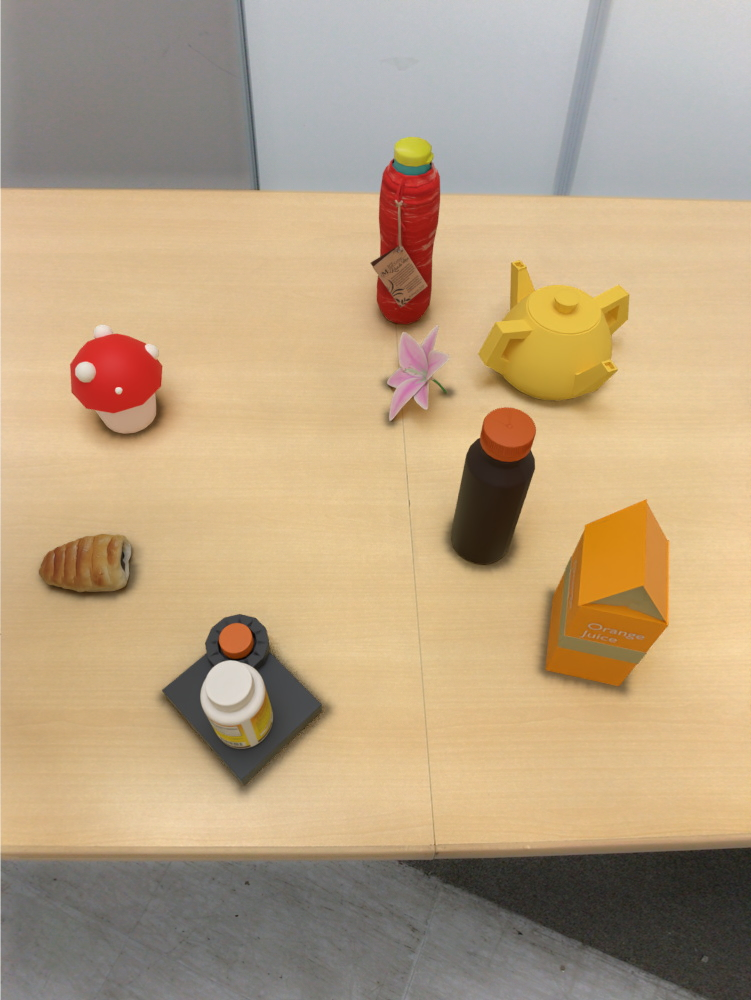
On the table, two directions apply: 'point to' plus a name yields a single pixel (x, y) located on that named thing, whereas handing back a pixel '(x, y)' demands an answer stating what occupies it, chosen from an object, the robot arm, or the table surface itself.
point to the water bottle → (407, 231)
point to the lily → (415, 371)
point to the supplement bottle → (237, 704)
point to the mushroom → (117, 379)
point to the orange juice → (611, 597)
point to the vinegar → (494, 486)
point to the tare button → (236, 641)
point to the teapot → (555, 338)
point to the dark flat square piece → (283, 690)
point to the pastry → (89, 564)
